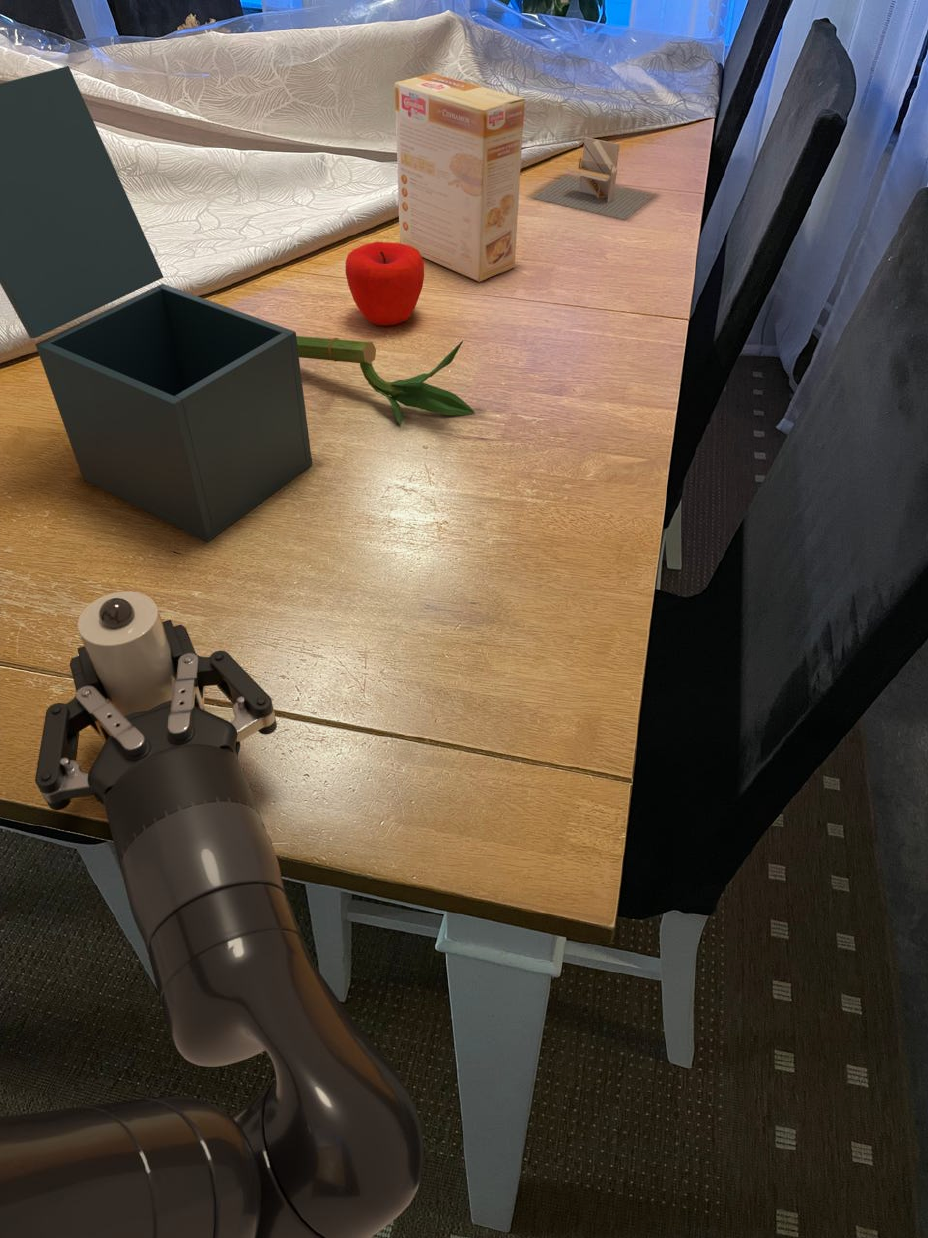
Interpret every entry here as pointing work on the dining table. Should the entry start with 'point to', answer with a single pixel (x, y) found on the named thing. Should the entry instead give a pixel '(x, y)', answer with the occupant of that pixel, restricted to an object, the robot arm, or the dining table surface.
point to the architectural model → (595, 184)
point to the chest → (181, 406)
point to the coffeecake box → (459, 173)
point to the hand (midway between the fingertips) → (127, 643)
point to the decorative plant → (402, 391)
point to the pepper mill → (129, 650)
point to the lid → (62, 208)
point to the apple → (385, 281)
